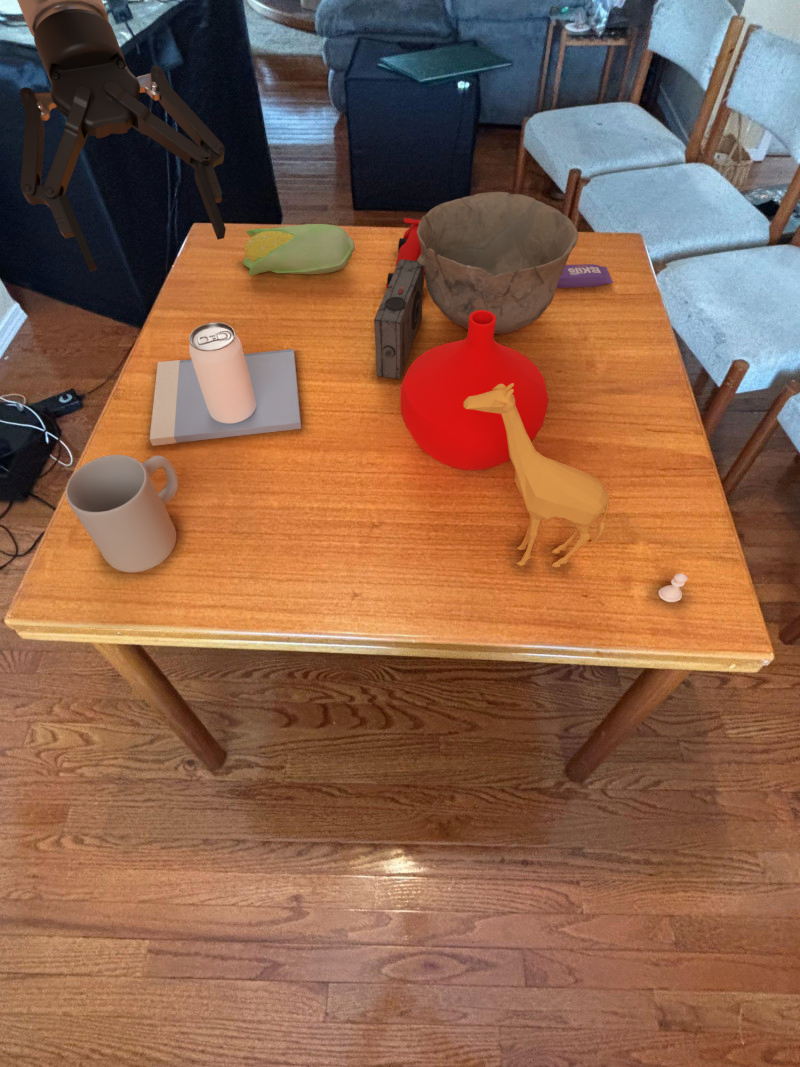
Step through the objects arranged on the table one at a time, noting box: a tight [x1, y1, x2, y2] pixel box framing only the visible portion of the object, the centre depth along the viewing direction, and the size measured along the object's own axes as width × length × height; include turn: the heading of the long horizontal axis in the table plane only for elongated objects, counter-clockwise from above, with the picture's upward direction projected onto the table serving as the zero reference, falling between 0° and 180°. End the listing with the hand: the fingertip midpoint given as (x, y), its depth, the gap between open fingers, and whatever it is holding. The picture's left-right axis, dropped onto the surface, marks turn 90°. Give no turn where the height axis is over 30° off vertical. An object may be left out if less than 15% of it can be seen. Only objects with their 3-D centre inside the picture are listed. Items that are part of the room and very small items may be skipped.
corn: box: [242, 223, 356, 276], centre depth 107 cm, size 8×8×20 cm
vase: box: [399, 310, 549, 471], centre depth 78 cm, size 18×18×19 cm
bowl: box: [417, 191, 579, 335], centre depth 95 cm, size 22×22×15 cm
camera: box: [373, 259, 424, 380], centre depth 93 cm, size 16×4×10 cm, turn 167°
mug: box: [65, 454, 180, 573], centre depth 72 cm, size 12×8×11 cm
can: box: [188, 321, 256, 424], centre depth 83 cm, size 6×6×12 cm
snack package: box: [556, 263, 614, 289], centre depth 107 cm, size 12×2×5 cm
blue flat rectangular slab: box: [149, 348, 302, 447], centre depth 90 cm, size 20×16×1 cm
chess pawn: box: [658, 572, 689, 603], centre depth 69 cm, size 3×2×4 cm
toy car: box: [385, 217, 425, 289], centre depth 107 cm, size 6×18×5 cm, turn 170°
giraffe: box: [463, 383, 610, 568], centre depth 64 cm, size 16×4×25 cm, turn 83°
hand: (158, 250), depth 66 cm, fingers open, 13 cm apart
